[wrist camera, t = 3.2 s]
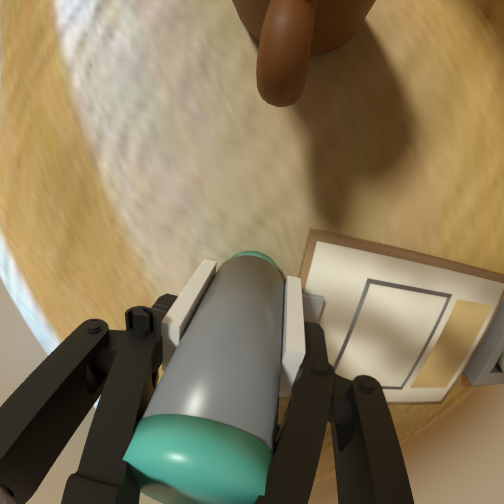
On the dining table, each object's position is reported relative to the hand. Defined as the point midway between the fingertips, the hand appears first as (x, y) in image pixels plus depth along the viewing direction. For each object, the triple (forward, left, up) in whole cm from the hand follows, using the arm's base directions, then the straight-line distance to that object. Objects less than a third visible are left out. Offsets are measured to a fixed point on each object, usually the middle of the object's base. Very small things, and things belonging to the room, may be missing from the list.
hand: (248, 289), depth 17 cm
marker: (0, 0, -2) cm, 2 cm away
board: (+3, +12, -3) cm, 13 cm away
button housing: (+2, +25, -3) cm, 26 cm away
